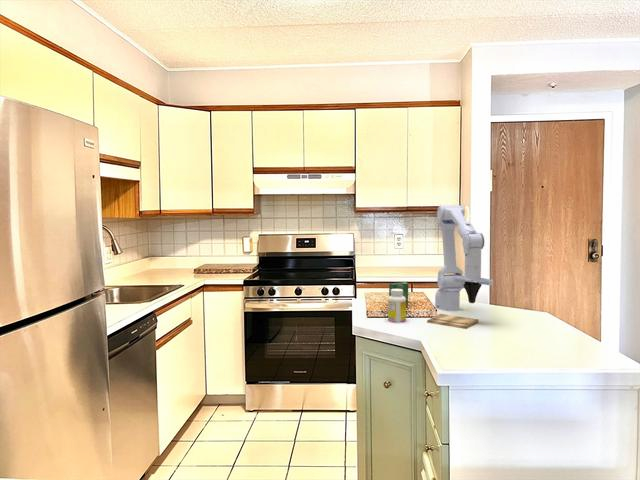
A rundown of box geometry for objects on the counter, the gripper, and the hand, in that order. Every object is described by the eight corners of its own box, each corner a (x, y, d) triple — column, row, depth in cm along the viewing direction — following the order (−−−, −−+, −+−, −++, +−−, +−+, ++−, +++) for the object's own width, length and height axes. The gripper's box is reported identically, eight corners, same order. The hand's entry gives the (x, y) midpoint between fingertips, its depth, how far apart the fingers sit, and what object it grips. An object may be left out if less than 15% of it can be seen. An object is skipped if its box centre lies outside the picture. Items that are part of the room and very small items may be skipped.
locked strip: (427, 322, 179) (427, 319, 179) (429, 321, 180) (429, 318, 180) (466, 329, 169) (466, 326, 169) (468, 327, 171) (468, 325, 171)
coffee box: (404, 312, 199) (404, 281, 198) (408, 314, 196) (408, 282, 195) (388, 315, 195) (388, 283, 194) (392, 316, 192) (392, 284, 191)
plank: (430, 320, 181) (430, 318, 181) (440, 316, 187) (440, 313, 187) (469, 327, 172) (469, 324, 171) (478, 322, 178) (478, 319, 178)
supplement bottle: (405, 321, 185) (405, 288, 184) (406, 325, 179) (406, 291, 178) (387, 320, 186) (387, 288, 185) (388, 325, 179) (388, 291, 178)
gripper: (449, 265, 178) (449, 302, 179) (488, 269, 169) (487, 307, 170) (457, 263, 184) (456, 298, 185) (495, 266, 174) (494, 303, 176)
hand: (472, 302), depth 178 cm, fingers closed
